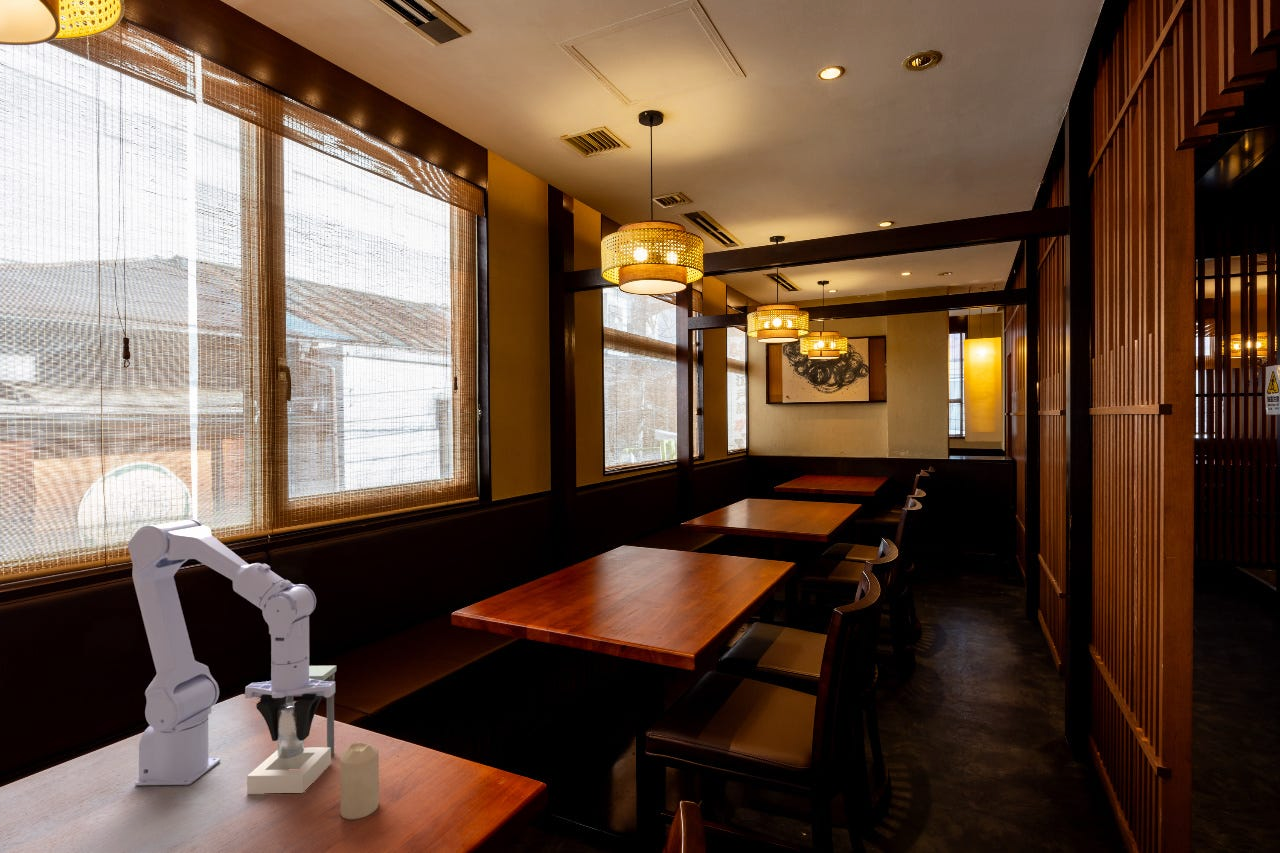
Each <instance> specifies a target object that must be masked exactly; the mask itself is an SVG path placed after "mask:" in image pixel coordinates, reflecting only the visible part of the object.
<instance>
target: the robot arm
mask: <svg viewBox="0 0 1280 853" xmlns="http://www.w3.org/2000/svg"><path fill="white" fill-rule="evenodd" d="M127 547H128V551H129V556H130V559H131V563H132V571H131V572H132V574H131V575H132V580H133V584H134V589H135V593H136V597H137V600H138V605H139V608H140V611H141V617H142V621H143V624H144V625H143V626H144V629H145V633H146V637H147V640H148V644H149V648H150V649H149V650H150V653H151V656H152V660H153V664H154V667H155V672H156V674H155V676H154V677H153V679H152V681H151V682H150V683H149V685H148V687H147V688H146V689H145V692H144V696H145V699H146V704H145V710H144V714H145V715H144V716H145V719H146V722H147V723H148V726H147V728H146V729H145V730H144V731H143V733H142V735H141V738H140V740H139V744H138V780H136V781H135V782H134V785H135V786H181V785H184V786H185V785H186V786H188V785H191V784H192V783H193V782H196V780H198V778H199V779H200V777H202V776H203V775H204V774H205V773H207V772H208V771H209V770H211V769H212V768H213V767H214V766H216V765H217V764H218V763H219V762H221V758H220V757H209V715H210V714H212V707H213V706H214V705H215V704H216V703H217V701H218V700H219V696H220V688H219V684H218V682H217V681H216V680H215V679H214V677H213V675H212V674H211V672H210V669H209V666H208V665H206V664H204V663H201V662H199V661H197V660H196V659H195V656H194V653H193V648H192V644H191V640H190V637H189V632H188V629H187V628H188V627H187V625H186V620H185V617H184V614H183V609H182V605H181V601H180V598H179V593H178V590H177V586H176V580H175V577H174V576H175V574H176V573H177V572H178V571H179V569H180V568H181V566H182V565H183V564H184V563H186V562H187V561H188V560H196V561H198V562H199V563H201V564H203V565H205V566H207V567H209V568H210V569H212V570H214V571H215V572H217V573H218V574H221V575H223V576H224V577H226V578H228V579H229V580H231V581H232V589H233V592H235V593H236V594H238V595H239V596H240V597H242V598H244V599H246V600H247V601H249V602H250V603H251V604H253V605H254V606H256V607H257V608H259V609H260V610H261V612H262V616H263V619H264V621H265V623H267V625H268V634H269V635H270V641H271V642H270V644H271V645H270V646H271V647H270V649H271V651H270V655H271V656H270V657H271V663H270V665H271V666H270V667H271V669H270V671H271V672H270V677H271V678H270V679H271V680H269V681H267V680H266V681H261V682H259V681H258V682H251V683H250V684H248V685H246V686H245V688H244V689H245V690H244V693H245V694H244V698H245V699H253V698H255V697H256V698H257V697H258V698H259V697H260V699H259V701H258V702H256V706H255V707H256V709H257V710H258V711H259V713H260V714H261V716H262V718H263V720H265V723H266V725H267V728H268V731H269V733H270V734H269V735H270V737H271V741H272V742H278V713H277V708H278V707H279V706H280V705H282V704H284V703H286V696H293V697H301V698H299V699H298V700H296V701H297V702H295V703H294V707H295V709H296V713H297V718H298V738H299V741H303V740H304V741H305V740H306V739H307V738H308V737H309V736H310V732H311V728H312V723H313V720H314V717H315V714H316V712H317V709H318V707H319V704H320V702H321V701H322V699H323V698H327V697H331V696H332V695H333V694H334V695H335V693H336V681H334V682H328V681H327V680H324V681H321V680H315V679H309V666H310V615H311V614H312V613H313V612H314V611H315V609H316V604H317V597H316V595H315V592H314V591H313V590H312V589H311V588H310V587H309V586H308V585H307V584H303V583H302V584H301V583H299V584H294V583H292V582H291V581H290V580H288V579H284V578H282V577H281V576H280V575H278V574H277V573H275V572H274V571H272V570H271V566H270V565H268V564H266V563H261V562H255V563H251V564H250V563H248V562H247V561H245V560H244V559H242V558H241V557H240V556H239V555H238V554H236V553H235V552H234V551H232V550H231V549H230V548H228V547H227V545H225V544H224V543H222V542H221V541H220V540H219V539H217V538H216V537H215V536H214V535H213V534H212V529H211V527H209V526H206V525H204V524H203V523H202V522H201V521H199V520H198V519H195V518H187V519H183V520H179V521H173V522H167V523H166V522H165V523H160V524H149V525H144V526H141V527H140V528H139V529H138V530H137V531H136V532H135V533H134V535H133V536H132V538H131V539H130V540H129V541H128V543H127Z"/></svg>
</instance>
